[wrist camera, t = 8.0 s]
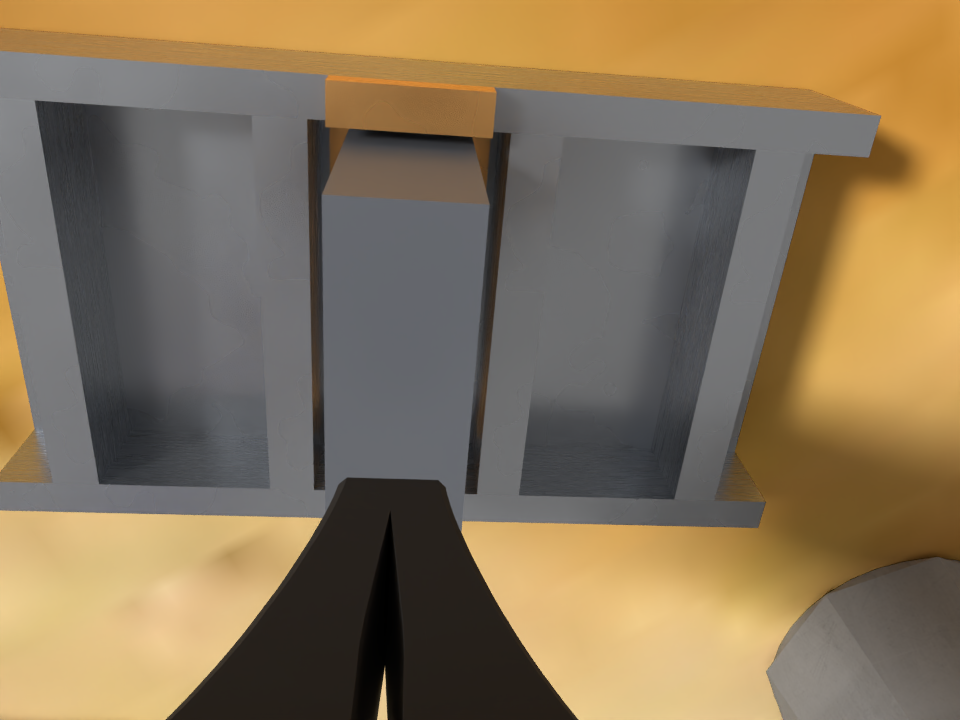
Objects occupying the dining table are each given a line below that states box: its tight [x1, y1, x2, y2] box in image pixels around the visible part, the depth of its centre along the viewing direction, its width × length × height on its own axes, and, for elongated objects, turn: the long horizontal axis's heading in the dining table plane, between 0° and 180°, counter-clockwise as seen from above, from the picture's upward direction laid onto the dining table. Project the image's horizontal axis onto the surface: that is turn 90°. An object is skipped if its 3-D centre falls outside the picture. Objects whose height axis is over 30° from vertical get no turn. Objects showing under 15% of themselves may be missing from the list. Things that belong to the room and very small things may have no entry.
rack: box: [0, 28, 881, 528], centre depth 18 cm, size 10×18×4 cm, turn 85°
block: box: [322, 129, 490, 531], centre depth 16 cm, size 7×2×6 cm, turn 175°
